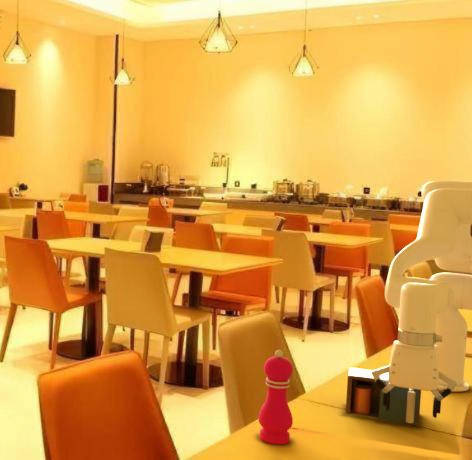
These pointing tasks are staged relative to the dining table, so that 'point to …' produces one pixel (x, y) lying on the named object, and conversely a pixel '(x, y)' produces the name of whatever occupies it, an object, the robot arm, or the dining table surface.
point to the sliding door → (400, 405)
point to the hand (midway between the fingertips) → (410, 412)
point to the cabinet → (366, 378)
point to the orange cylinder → (362, 399)
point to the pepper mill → (276, 401)
